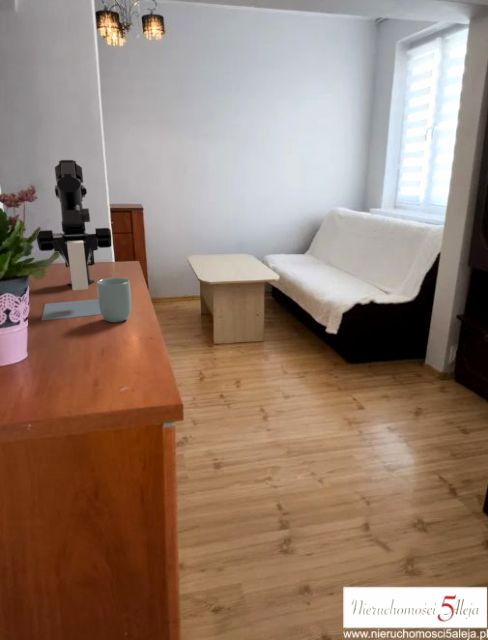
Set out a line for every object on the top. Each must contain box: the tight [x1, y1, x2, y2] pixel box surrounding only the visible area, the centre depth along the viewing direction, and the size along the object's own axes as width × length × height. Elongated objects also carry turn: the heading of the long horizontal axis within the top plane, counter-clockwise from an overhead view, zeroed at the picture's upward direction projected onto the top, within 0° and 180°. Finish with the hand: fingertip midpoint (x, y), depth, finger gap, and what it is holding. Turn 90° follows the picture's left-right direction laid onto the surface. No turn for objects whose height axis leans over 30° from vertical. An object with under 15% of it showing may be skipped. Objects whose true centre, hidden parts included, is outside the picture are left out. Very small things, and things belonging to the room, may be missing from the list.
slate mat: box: [40, 298, 102, 322], centre depth 125 cm, size 16×20×1 cm
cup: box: [96, 277, 132, 323], centre depth 113 cm, size 8×8×10 cm
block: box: [67, 241, 89, 291], centre depth 121 cm, size 4×4×12 cm
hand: (77, 264), depth 120 cm, fingers closed on block, 4 cm apart
